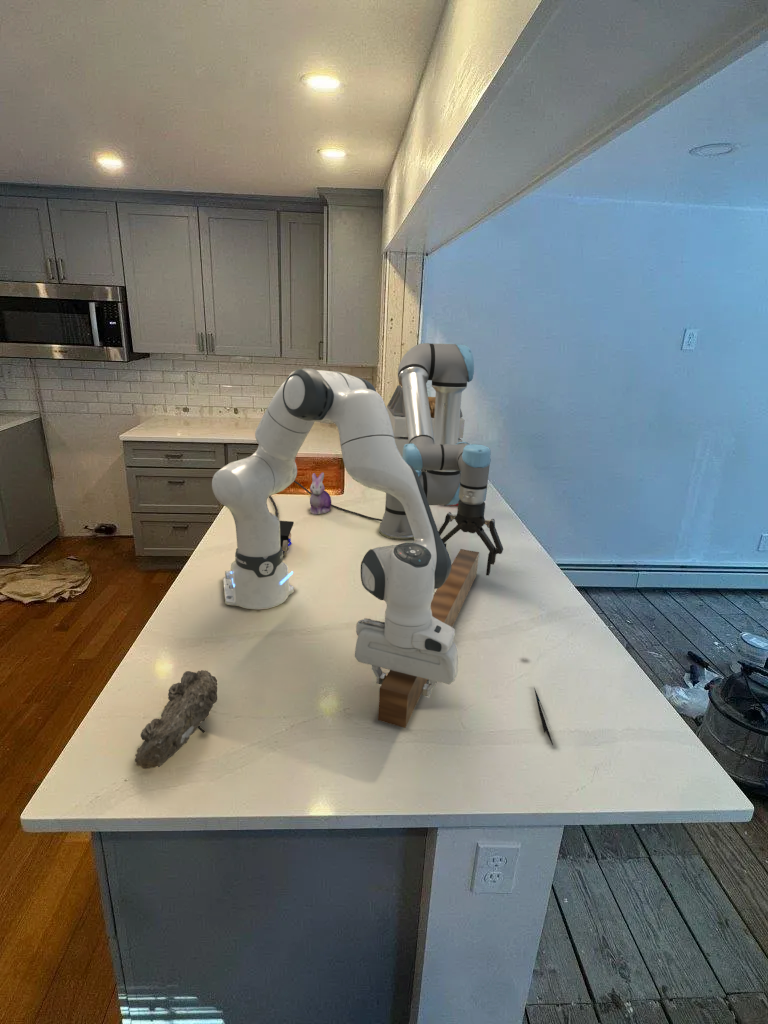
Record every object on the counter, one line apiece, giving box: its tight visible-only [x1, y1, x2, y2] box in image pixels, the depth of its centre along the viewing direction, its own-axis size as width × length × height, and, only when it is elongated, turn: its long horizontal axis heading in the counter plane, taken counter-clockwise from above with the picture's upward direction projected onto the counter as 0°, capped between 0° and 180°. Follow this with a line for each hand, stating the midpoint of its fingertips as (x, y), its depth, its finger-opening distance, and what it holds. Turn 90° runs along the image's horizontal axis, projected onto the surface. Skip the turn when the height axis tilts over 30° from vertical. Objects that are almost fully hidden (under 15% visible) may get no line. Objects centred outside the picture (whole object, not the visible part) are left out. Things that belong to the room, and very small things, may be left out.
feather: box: [524, 658, 554, 746], centre depth 117 cm, size 2×28×2 cm
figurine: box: [309, 472, 332, 515], centre depth 216 cm, size 9×10×15 cm
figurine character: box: [279, 520, 295, 556], centre depth 182 cm, size 7×8×15 cm
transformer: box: [386, 384, 465, 472], centre depth 268 cm, size 34×33×41 cm
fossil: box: [134, 669, 218, 770], centre depth 103 cm, size 22×10×15 cm
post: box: [377, 548, 480, 729], centre depth 139 cm, size 72×6×8 cm, turn 161°
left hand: (403, 688), depth 112 cm, fingers open, 8 cm apart
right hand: (464, 569), depth 166 cm, fingers open, 13 cm apart
